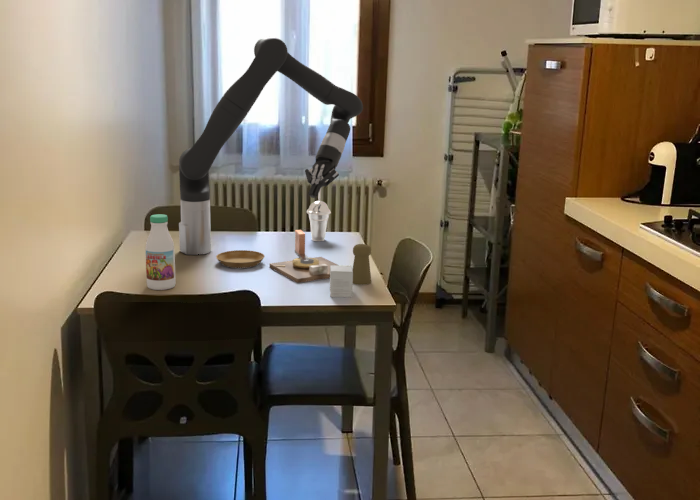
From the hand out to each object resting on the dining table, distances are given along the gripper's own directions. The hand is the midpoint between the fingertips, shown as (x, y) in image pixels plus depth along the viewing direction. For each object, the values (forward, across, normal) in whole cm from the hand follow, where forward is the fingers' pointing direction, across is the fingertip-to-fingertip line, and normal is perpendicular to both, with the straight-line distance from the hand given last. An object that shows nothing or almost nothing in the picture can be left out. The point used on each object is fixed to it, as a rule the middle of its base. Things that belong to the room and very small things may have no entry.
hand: (312, 196), depth 241 cm
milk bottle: (+47, -12, -30) cm, 57 cm away
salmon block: (+21, +4, +3) cm, 22 cm away
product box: (+33, +29, -4) cm, 44 cm away
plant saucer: (+28, -13, -5) cm, 31 cm away
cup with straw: (+3, -15, +27) cm, 31 cm away
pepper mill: (+24, +26, +5) cm, 36 cm away
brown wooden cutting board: (+24, +8, +3) cm, 26 cm away
